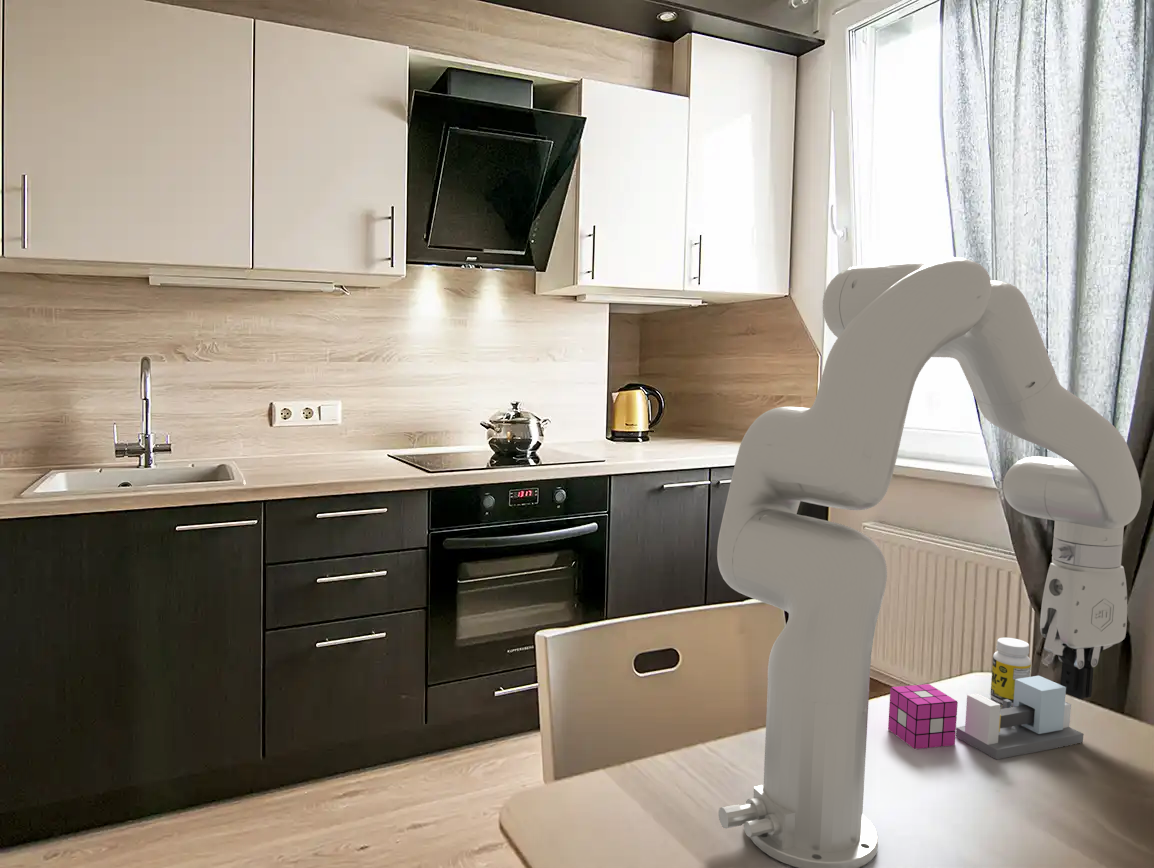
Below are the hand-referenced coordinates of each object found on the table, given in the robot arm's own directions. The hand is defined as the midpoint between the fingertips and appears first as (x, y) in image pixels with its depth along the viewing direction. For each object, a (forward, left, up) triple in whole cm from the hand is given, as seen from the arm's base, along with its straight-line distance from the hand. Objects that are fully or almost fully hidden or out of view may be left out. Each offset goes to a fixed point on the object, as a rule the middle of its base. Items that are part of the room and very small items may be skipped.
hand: (1075, 693), depth 110 cm
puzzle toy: (-20, +5, -5) cm, 22 cm away
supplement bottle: (0, +10, -5) cm, 11 cm away
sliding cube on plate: (-9, 0, -5) cm, 10 cm away
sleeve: (-6, 0, -3) cm, 7 cm away
